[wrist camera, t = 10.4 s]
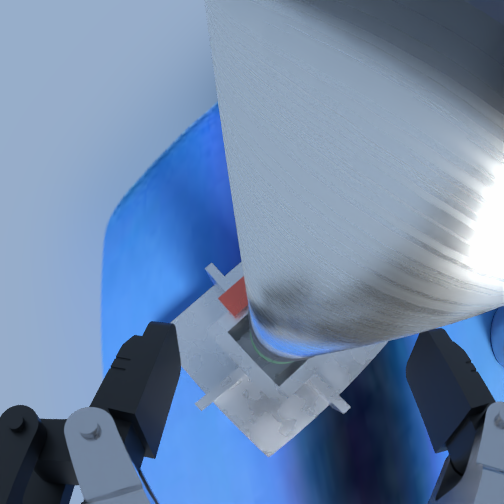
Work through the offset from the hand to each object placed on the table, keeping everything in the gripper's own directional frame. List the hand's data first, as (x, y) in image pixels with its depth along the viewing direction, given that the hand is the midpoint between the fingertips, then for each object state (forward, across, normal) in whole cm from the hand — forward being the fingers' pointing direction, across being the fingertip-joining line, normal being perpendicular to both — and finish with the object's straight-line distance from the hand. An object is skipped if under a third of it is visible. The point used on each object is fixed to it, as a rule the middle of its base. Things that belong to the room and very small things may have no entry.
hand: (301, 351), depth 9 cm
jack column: (+10, 0, +7) cm, 12 cm away
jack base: (+16, 0, +14) cm, 21 cm away
